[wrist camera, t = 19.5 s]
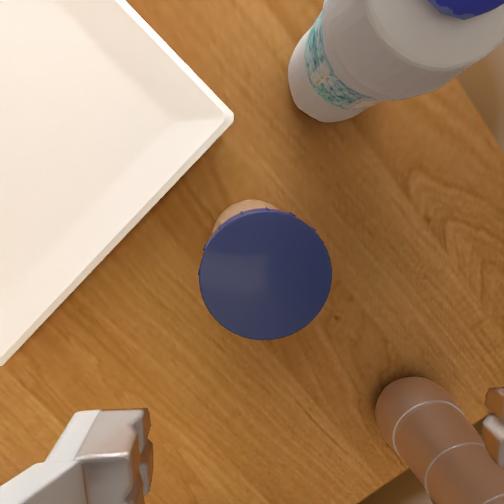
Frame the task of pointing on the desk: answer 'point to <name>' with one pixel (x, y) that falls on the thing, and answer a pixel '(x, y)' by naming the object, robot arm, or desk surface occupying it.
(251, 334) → the lid
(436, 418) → the silver ringed container
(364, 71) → the bottle
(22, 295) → the plate
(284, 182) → the desk surface
